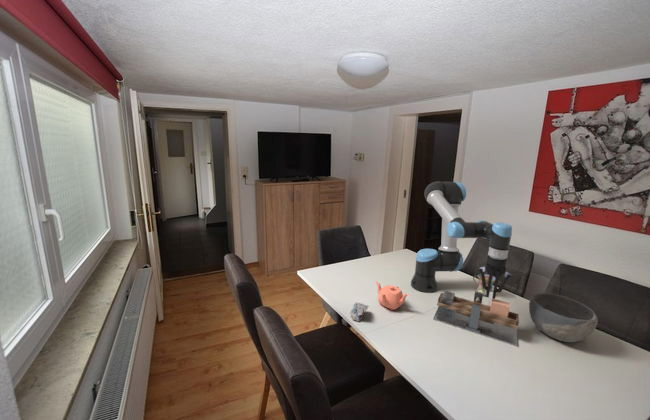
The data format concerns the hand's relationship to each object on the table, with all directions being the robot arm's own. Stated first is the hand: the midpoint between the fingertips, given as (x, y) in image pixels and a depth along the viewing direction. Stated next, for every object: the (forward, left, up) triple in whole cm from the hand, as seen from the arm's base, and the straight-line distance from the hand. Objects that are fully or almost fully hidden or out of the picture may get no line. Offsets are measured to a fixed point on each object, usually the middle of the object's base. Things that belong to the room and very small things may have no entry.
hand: (489, 303), depth 135 cm
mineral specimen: (-54, -27, -12) cm, 62 cm away
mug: (-4, +37, -12) cm, 39 cm away
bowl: (+28, +12, -12) cm, 33 cm away
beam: (-5, 0, -8) cm, 10 cm away
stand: (-5, 0, -12) cm, 13 cm away
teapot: (-45, -10, -12) cm, 48 cm away
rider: (+4, 0, -5) cm, 7 cm away
